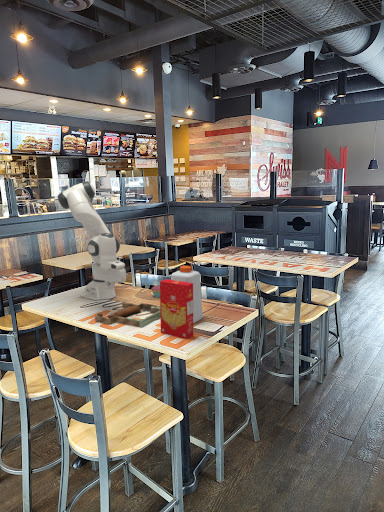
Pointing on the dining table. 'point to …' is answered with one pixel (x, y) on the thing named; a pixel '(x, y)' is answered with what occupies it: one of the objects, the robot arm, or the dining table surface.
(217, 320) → the dining table surface
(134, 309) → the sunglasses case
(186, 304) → the food packaging
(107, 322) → the trap lane
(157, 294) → the cupcake
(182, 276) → the plastic bottle
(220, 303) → the dining table surface
